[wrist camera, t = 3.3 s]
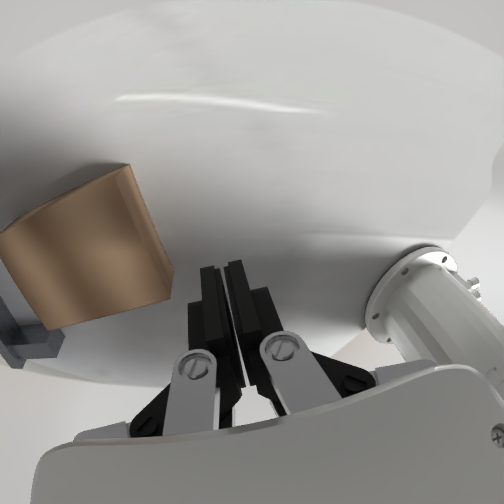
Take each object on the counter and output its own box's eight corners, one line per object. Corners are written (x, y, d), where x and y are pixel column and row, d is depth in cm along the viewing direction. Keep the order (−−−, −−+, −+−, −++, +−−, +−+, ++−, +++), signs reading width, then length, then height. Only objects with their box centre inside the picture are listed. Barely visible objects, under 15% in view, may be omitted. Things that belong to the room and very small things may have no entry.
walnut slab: (131, 163, 18) (114, 176, 15) (173, 268, 23) (169, 298, 19) (16, 219, 18) (-9, 240, 15) (62, 302, 23) (48, 330, 19)
